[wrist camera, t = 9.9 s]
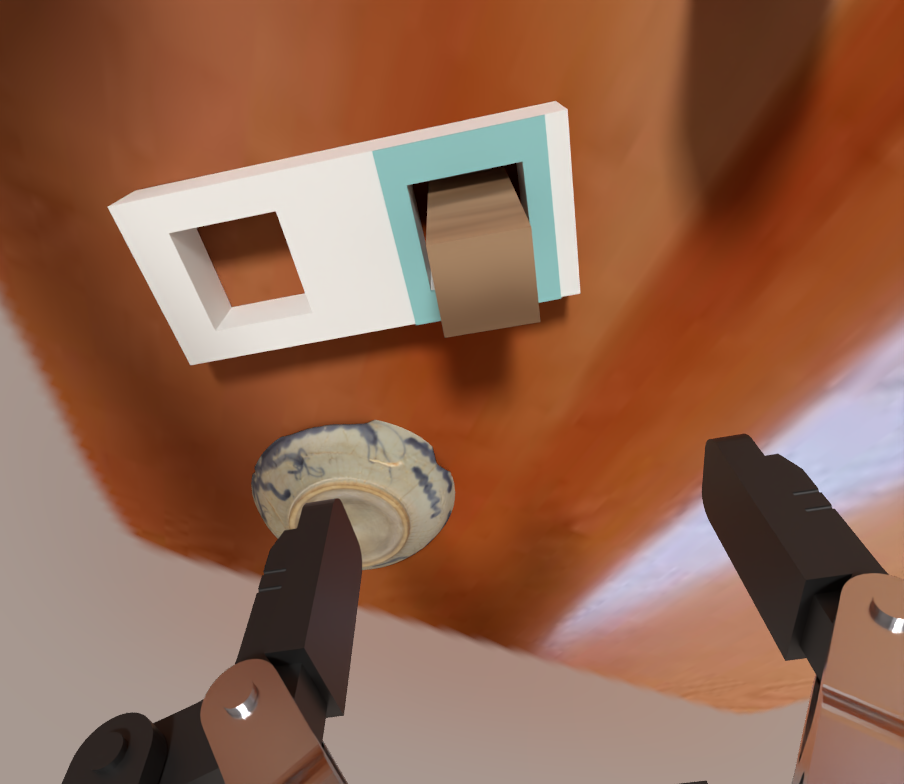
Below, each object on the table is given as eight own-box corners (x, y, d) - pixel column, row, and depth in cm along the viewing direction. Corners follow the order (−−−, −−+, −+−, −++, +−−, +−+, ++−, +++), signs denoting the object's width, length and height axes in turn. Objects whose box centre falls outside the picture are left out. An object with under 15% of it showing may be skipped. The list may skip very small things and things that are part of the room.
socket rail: (135, 190, 30) (105, 208, 27) (555, 100, 28) (568, 110, 25) (208, 339, 34) (189, 367, 32) (569, 272, 33) (581, 294, 30)
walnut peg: (428, 181, 30) (425, 245, 21) (504, 167, 29) (531, 226, 21) (442, 253, 32) (444, 337, 24) (512, 241, 32) (540, 321, 23)
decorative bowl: (493, 460, 41) (296, 378, 37) (498, 497, 38) (284, 412, 34) (399, 577, 48) (226, 521, 44) (397, 616, 45) (210, 560, 41)
